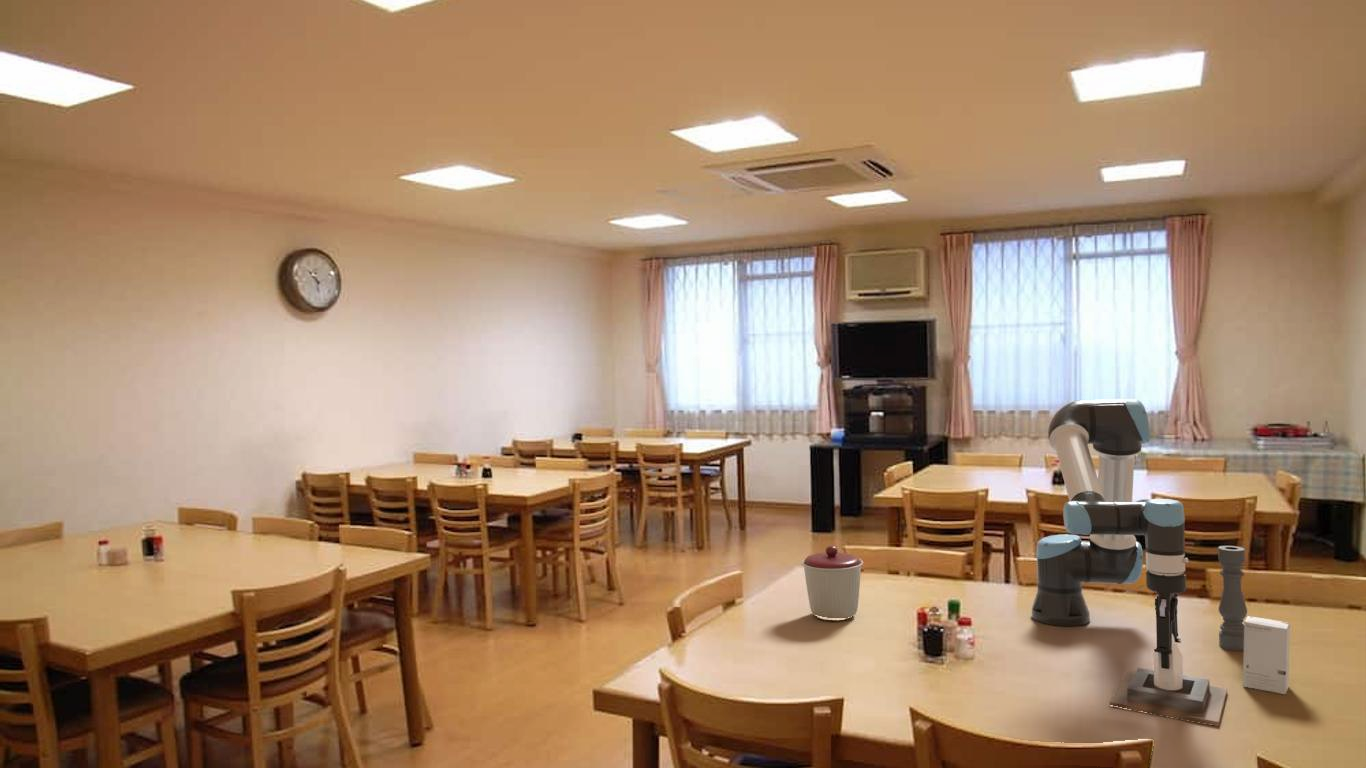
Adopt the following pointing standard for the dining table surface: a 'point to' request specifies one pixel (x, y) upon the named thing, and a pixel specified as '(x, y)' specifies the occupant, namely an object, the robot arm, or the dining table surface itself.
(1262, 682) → the skincare box
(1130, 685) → the socket
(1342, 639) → the dining table surface
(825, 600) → the canister
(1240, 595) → the candle holder
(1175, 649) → the white bottle-shaped piece
